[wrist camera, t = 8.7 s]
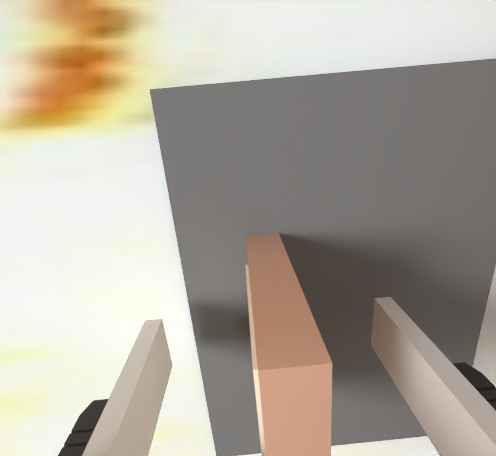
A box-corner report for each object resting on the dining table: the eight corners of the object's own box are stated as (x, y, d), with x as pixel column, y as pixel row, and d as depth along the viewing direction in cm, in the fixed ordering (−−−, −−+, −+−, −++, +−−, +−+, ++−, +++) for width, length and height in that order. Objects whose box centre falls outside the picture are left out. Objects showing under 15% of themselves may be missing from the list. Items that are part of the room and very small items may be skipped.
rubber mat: (152, 90, 12) (149, 89, 11) (533, 56, 12) (543, 54, 12) (217, 451, 19) (216, 457, 19) (452, 426, 19) (456, 432, 19)
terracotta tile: (242, 236, 14) (251, 371, 6) (278, 233, 14) (332, 363, 6) (256, 379, 17) (274, 589, 9) (286, 376, 17) (328, 583, 9)
